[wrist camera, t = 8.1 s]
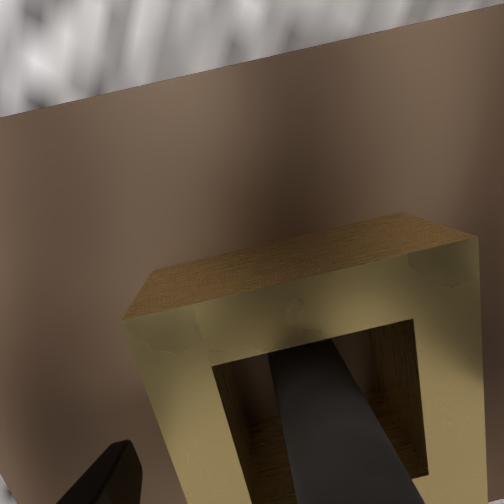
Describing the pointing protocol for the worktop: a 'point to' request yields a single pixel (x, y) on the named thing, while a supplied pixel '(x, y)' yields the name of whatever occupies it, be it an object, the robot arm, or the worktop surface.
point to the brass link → (311, 330)
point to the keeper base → (240, 242)
